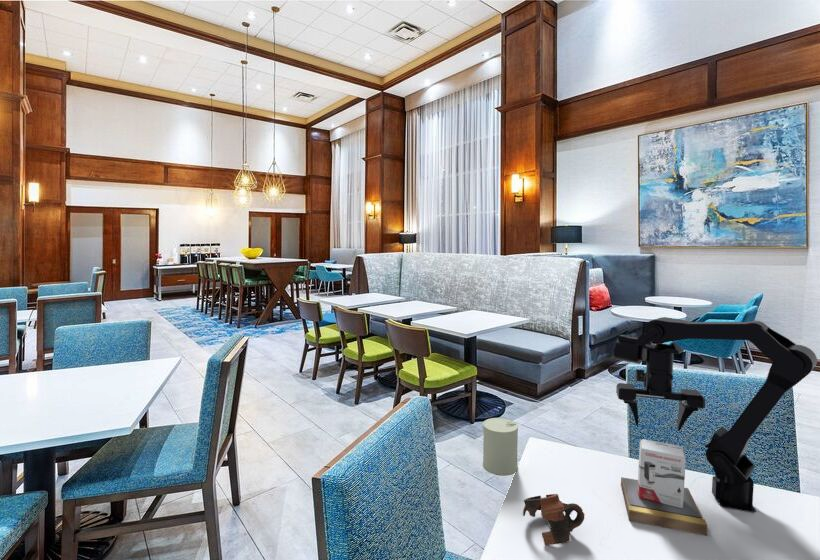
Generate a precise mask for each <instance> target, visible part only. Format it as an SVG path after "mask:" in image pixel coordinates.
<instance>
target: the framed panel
mask: <svg viewBox="0 0 820 560" xmlns="http://www.w3.org/2000/svg"><path fill="white" fill-rule="evenodd" d="M620 487H621V491H622V495H623V502H624V505H625V509H626V513H627V518H628V519H627V520H628V521H630V522H635V523H640V524H645V525H651V526H656V527H661V528H666V529H671V530H676V531H681V532H687V533H692V534H697V535H701V536H707V535H708V524H707V522H706V519H704V517H703V515H702V513H701V511H700V509H699V506H698V505H697V503H696V501H695V499H694V497H693V495H692V493H691V491H690V489H689V487H684V498H683V508H679V507H675V506H670V505H666V504H662V503H658V502H654V501H650V500H646V499H641V498H639V496H638V479H635V478H627V477H620Z"/></svg>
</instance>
